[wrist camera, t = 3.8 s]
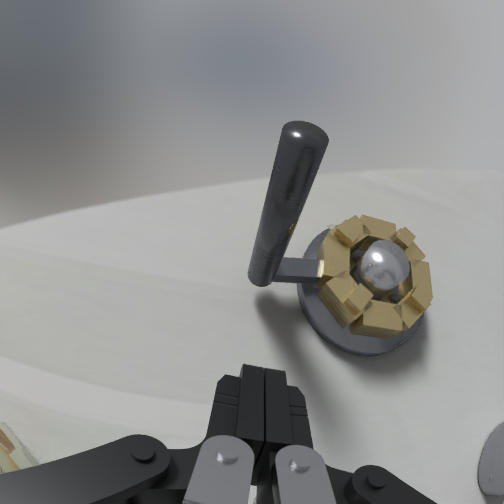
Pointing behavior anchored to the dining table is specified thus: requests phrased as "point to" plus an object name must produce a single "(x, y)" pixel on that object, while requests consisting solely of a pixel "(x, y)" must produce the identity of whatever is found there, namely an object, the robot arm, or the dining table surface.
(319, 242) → the flange
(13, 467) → the skincare box
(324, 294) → the lever crank
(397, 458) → the dining table surface
